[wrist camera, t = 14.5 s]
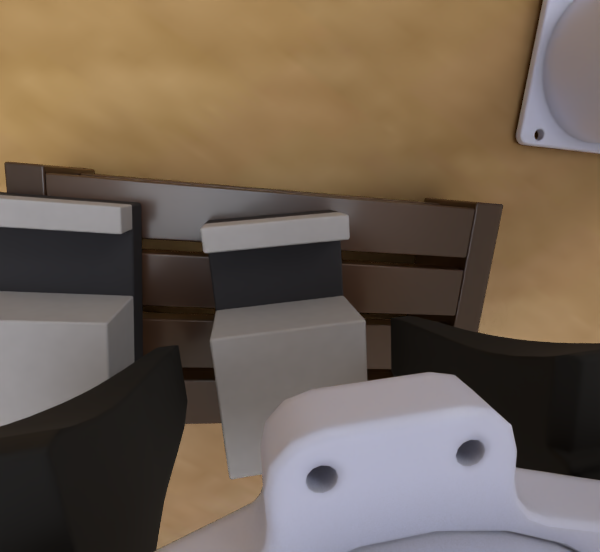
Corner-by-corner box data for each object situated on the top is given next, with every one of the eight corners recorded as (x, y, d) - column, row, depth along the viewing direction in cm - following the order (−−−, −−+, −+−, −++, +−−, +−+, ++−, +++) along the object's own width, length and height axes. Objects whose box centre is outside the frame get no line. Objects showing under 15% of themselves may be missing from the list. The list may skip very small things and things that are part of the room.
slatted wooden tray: (446, 199, 19) (504, 204, 15) (416, 376, 22) (459, 425, 17) (65, 166, 17) (3, 161, 12) (76, 375, 19) (27, 433, 14)
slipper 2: (206, 220, 14) (193, 234, 10) (331, 209, 14) (363, 218, 11) (233, 414, 16) (230, 486, 12) (341, 398, 16) (370, 461, 13)
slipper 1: (-7, 191, 12) (-110, 195, 9) (142, 202, 13) (103, 210, 9) (15, 409, 14) (-64, 487, 11) (144, 408, 15) (112, 481, 11)
